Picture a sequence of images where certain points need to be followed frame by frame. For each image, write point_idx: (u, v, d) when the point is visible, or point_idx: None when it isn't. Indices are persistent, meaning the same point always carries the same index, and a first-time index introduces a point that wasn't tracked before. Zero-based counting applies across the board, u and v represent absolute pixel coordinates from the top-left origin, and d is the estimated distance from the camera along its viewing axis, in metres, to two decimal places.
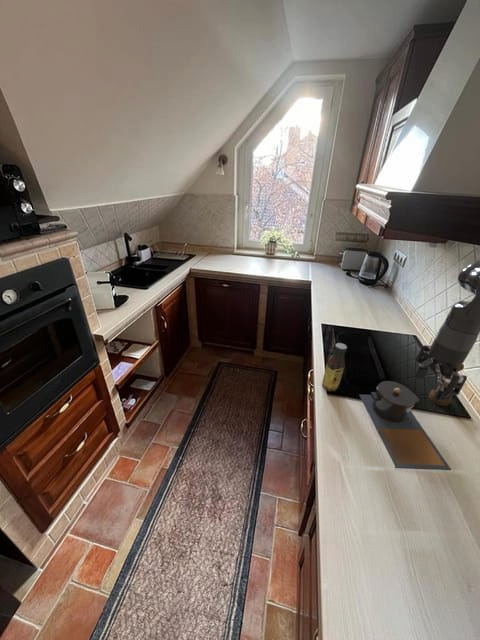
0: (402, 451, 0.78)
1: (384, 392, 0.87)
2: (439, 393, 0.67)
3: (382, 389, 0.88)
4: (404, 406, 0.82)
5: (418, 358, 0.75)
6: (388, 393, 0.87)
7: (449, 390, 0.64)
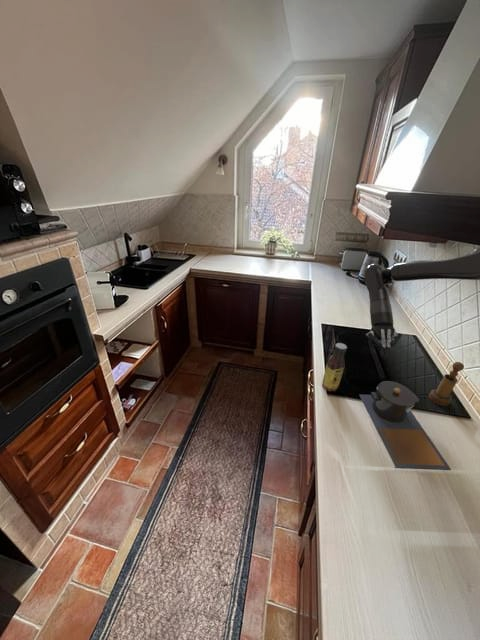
0: (402, 451, 0.78)
1: (384, 392, 0.87)
2: None
3: (382, 389, 0.88)
4: (404, 406, 0.82)
5: None
6: (388, 393, 0.87)
7: None
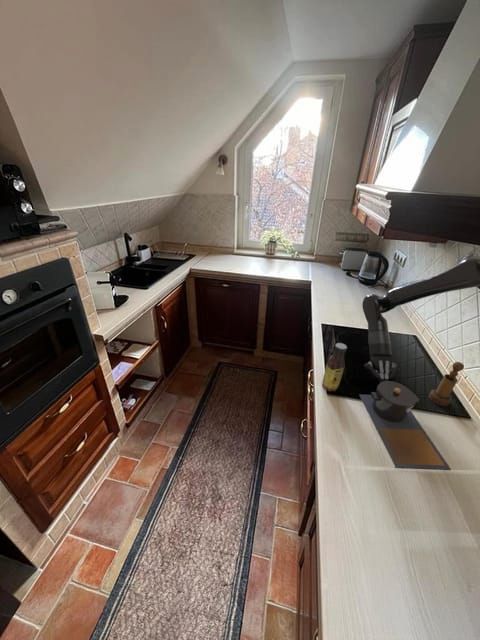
0: (402, 451, 0.78)
1: (384, 392, 0.87)
2: (380, 382, 0.96)
3: (382, 389, 0.88)
4: (404, 406, 0.82)
5: None
6: (388, 393, 0.87)
7: None
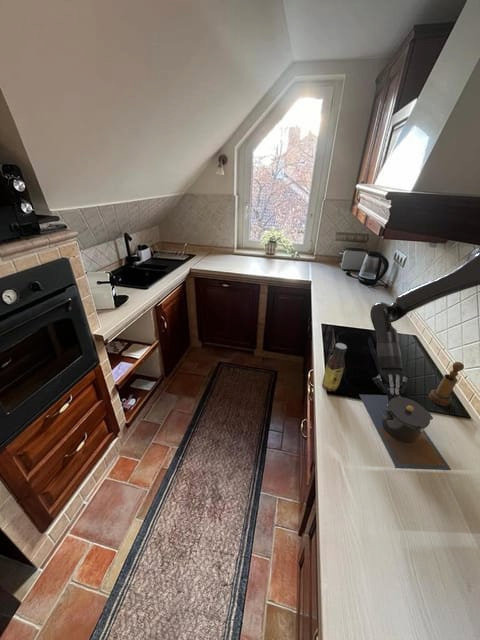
0: (402, 451, 0.78)
1: (396, 411, 0.80)
2: None
3: (393, 407, 0.81)
4: (419, 426, 0.76)
5: None
6: (400, 412, 0.80)
7: None
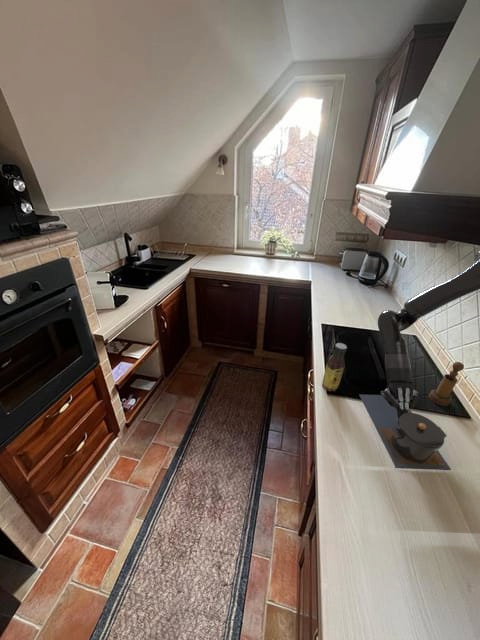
0: None
1: (407, 429, 0.75)
2: None
3: (404, 425, 0.76)
4: (433, 447, 0.70)
5: None
6: (412, 430, 0.74)
7: None
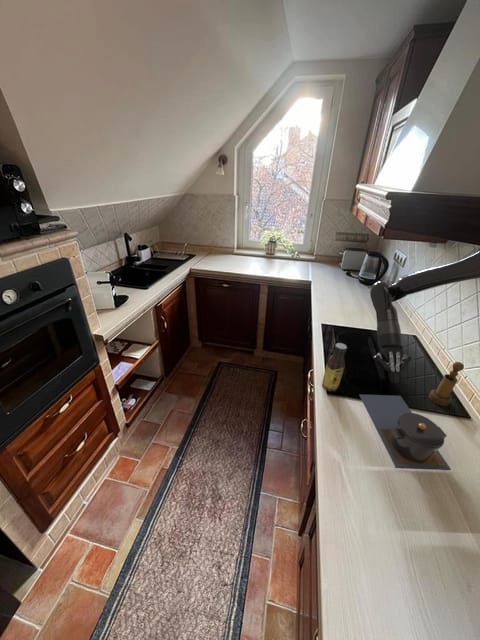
0: None
1: (407, 429, 0.75)
2: None
3: (404, 425, 0.76)
4: (433, 447, 0.70)
5: None
6: (412, 430, 0.74)
7: None
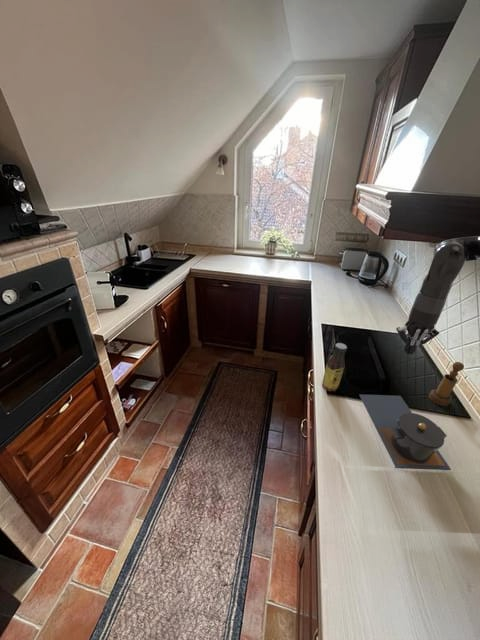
0: None
1: (407, 429, 0.75)
2: None
3: (404, 425, 0.76)
4: (433, 447, 0.70)
5: None
6: (412, 430, 0.74)
7: None
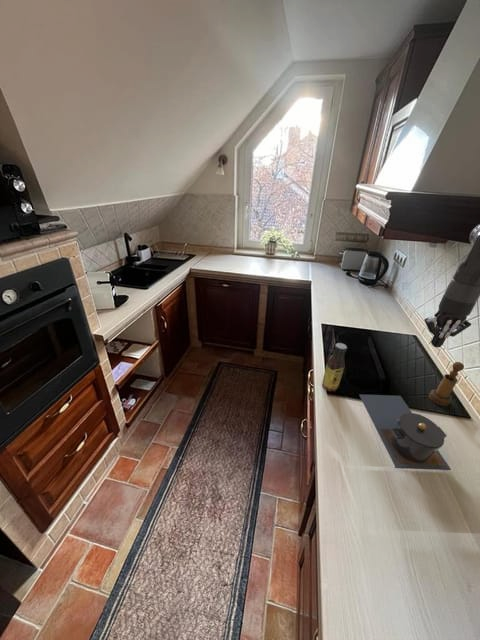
0: None
1: (407, 429, 0.75)
2: None
3: (404, 425, 0.76)
4: (433, 447, 0.70)
5: None
6: (412, 430, 0.74)
7: None
